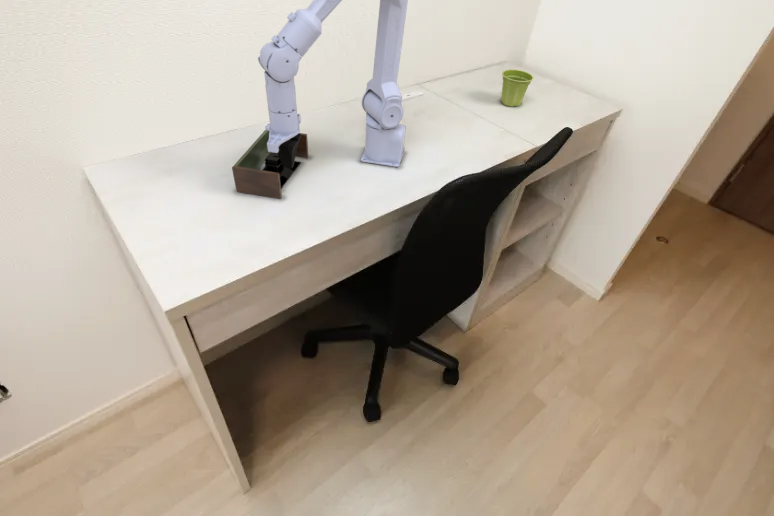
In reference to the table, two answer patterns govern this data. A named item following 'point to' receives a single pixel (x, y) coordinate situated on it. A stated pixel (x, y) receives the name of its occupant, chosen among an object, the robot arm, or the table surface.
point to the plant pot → (514, 86)
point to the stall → (260, 180)
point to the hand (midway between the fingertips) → (288, 166)
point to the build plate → (279, 167)
